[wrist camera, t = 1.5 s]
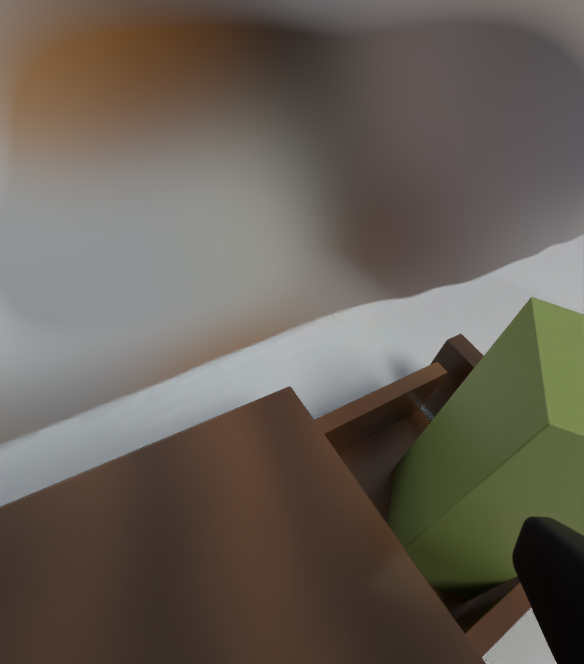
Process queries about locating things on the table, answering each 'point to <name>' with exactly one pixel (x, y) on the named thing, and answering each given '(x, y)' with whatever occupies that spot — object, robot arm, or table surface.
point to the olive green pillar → (497, 456)
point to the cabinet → (217, 558)
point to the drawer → (391, 445)
